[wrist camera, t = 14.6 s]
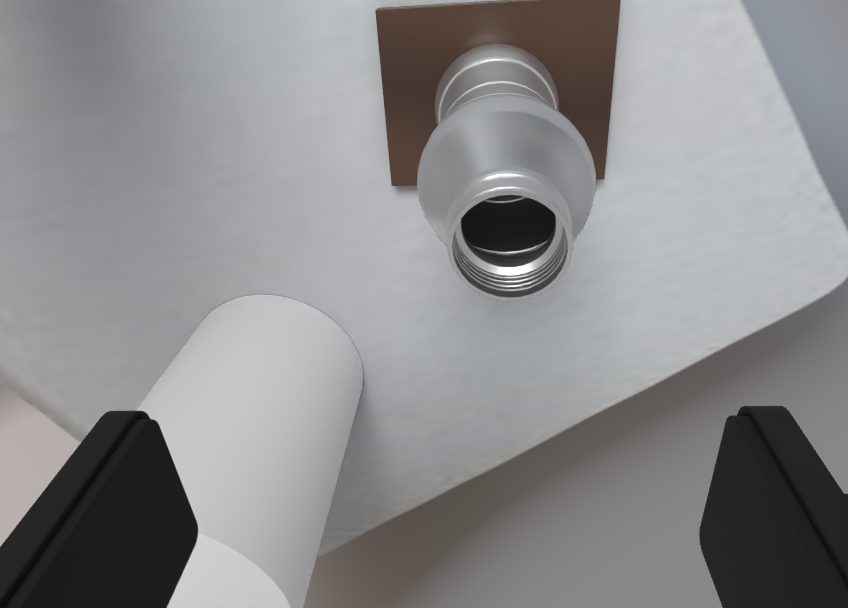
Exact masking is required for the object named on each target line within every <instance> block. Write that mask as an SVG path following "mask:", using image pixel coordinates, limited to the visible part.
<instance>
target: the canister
mask: <svg viewBox="0 0 848 608" xmlns="http://www.w3.org/2000/svg"><path fill="white" fill-rule="evenodd" d="M362 387H363V368H362V363H361V360H360V357H359V354H358V352H357V350H356V348H355V346H354V344H353V342H352V341H351V339H350V338H349V337H348V335H347V334H346V333H345V332H344V331H343V329H342V328H341V327H340V326H339V325H338V324H337V323H335V322H334V321H333V320H332V319H331V318H329V317H328V316H327V315H325V314H324V313H322V312H321V311H319V310H317V309H315V308H314V307H312V306H309V305H307V304H305V303H303V302H300V301H297V300H294V299H290V298H287V297H282V296H275V295H249V296H243V297H239V298H236V299H233V300H230V301H227V302H225V303H223V304H221V305H220V306H218V307H217V308H215V309H214V310H213V311H211V312H210V313H209V314H208V315H207V316H206V317H205V318H204V320H203V321H202V322H201V324H200V325H199V326H198V328H197V329H196V330H195V332H194V333H193V334H192V336H191V337H190V338H189V340H188V341H187V342H186V344H185V345H184V346H183V348H182V349H181V350H180V352H179V353H178V354H177V356H176V357H175V359H174V360H173V361H172V363H171V364H170V365H169V367H168V368H167V369H166V371H165V372H164V373H163V375H162V376H161V377H160V379H159V380H158V381H157V383H156V384H155V385H154V387H153V388H152V389H151V391H150V392H149V393H148V395H147V396H146V397H145V399H144V400H143V401H142V403H141V404H140V405H139V407H138V408H137V409H136V411H144V412H146V413H147V414H148V415H149V417H150V419H154V420H156V421H157V422H158V424H159V426H160V429H161V431H162V434H163V436H164V439H165V441H166V444H167V446H168V449H169V452H170V454H171V457H172V459H173V462H174V464H175V467H176V469H177V472H178V475H179V477H180V480H181V482H182V485H183V487H184V490H185V492H186V495H187V498H188V500H189V503H190V505H191V508H192V510H193V513H194V515H195V518H196V521H197V524H198V538H197V542H196V545H195V547H194V549H193V552H192V554H191V556H190V558H189V560H188V562H187V565H186V567H185V569H184V571H183V573H182V576H181V578H180V580H179V582H178V584H177V586H176V589H175V591H174V593H173V595H172V597H171V600H170V602H169V604H168V606H167V608H303V605H304V602H305V598H306V595H307V591H308V587H309V583H310V580H311V576H312V572H313V569H314V565H315V561H316V558H317V554H318V550H319V546H320V543H321V539H322V535H323V532H324V528H325V524H326V521H327V517H328V513H329V510H330V506H331V502H332V498H333V495H334V491H335V487H336V484H337V480H338V476H339V473H340V469H341V465H342V462H343V458H344V454H345V450H346V447H347V443H348V439H349V436H350V432H351V428H352V425H353V421H354V417H355V413H356V410H357V406H358V402H359V399H360V395H361V391H362Z"/></svg>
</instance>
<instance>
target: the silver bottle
mask: <svg viewBox="0 0 848 608" xmlns="http://www.w3.org/2000/svg"><path fill="white" fill-rule="evenodd" d="M435 116H436V122H437V125H438V126H437V127H436V129H435V130H434V131H433V133H432V135H431V137H430V139H429V141H428V143H427V144H426V146H425V148H424V150H423V152H422V156H421V159H420V163H419V167H418V176H417V189H418V195H419V201H420V204H421V207H422V210H423V212H424V215H425V217H426V219H427V221H428V222H429V224H430V225H431V227H432V229H433V230H434V232H435V233H436V235H437V237H438V238H439V239H440V240H441V241H442V242H443V243H444V244H445V245H446V247H447V249H448V255H449V259H450V261H451V264H452V267H453V269H454V270H455V272H456V274H457V275H458V277H459V278H460V279H461V280H462V281H463V282H464V283H465V284H466V285H467V286H468V287H470V288H471V289H472V290H474V291H475V292H477V293H479V294H481V295H483V296H485V297H488V298H492V299H495V300H502V301H521V300H525V299H530V298H533V297H535V296H538V295H540V294H542V293H544V292H545V291H547V290H549V289H550V288H552V287H553V286H554V285H555V284H556V283H557V282H558V281H559V280H560V279H561V277H562V276H563V274H564V273H565V272H566V270H567V267H568V265H569V263H570V260H571V255H572V250H573V241H574V240H575V239H576V238H577V236H578V235H579V233H580V232H581V230H582V229H583V227H584V225H585V223H586V221H587V218H588V216H589V214H590V211H591V208H592V205H593V200H594V196H595V191H596V172H595V167H594V163H593V158H592V155H591V153H590V150H589V148H588V146H587V144H586V142H585V140H584V138H583V137H582V136H581V134H580V133H579V132H578V130H577V129H576V128H575V126H574V125H573V124H572V123H571V122H570V121H569V120H568V119H567V118H566V117H565V116H564V115H562V114H561V113H560V112H559V99H558V94H557V89H556V85H555V83H554V81H553V79H552V77H551V74H550V73H549V72H548V70H547V69H546V68H545V66H544V65H543V64H542V63H541V62H540V61H539V60H538V59H537V58H536V57H535V56H533V55H532V54H530V53H528V52H527V51H525V50H523V49H521V48H518V47H515V46H512V45H505V44H488V45H483V46H479V47H476V48H473V49H471V50H469V51H467V52H466V53H464V54H462V55H461V56H459V57H458V58H457V59H456V60H455V61H454V62H453V63H451V65H450V66H449V67H448V69H447V70H446V71H445V73H444V74H443V76H442V78H441V80H440V82H439V84H438V88H437V92H436V96H435Z"/></svg>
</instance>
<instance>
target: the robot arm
mask: <svg viewBox="0 0 848 608" xmlns="http://www.w3.org/2000/svg"><path fill="white" fill-rule="evenodd" d="M197 538H198V524H197V521H196V518H195V515H194V513H193V510H192V508H191V505H190V503H189V500H188V498H187V495H186V492H185V490H184V487H183V485H182V482H181V480H180V477H179V475H178V472H177V469H176V467H175V464H174V462H173V459H172V457H171V454H170V452H169V449H168V446H167V444H166V441H165V439H164V436H163V434H162V431H161V429H160V426H159V424H158V422H157V421H156V420H154V419H150V417H149V415H148V414H147V413H146V412H144V411H109V412H107V413H105V414H104V415H103V416H102V417H101V418H100V419H99V421H98V422H97V423H96V425H95V426H94V427H93V428H92V430H91V431H90V432H89V434H88V435H87V436H86V437H85V439H84V440H83V441H82V443H81V444H80V445H79V446H78V448H77V449H76V450H75V452H74V453H73V454H72V455H71V457H70V458H69V459H68V461H67V462H66V463H65V465H64V466H63V467H62V468H61V470H60V471H59V472H58V474H57V475H56V476H55V477H54V479H53V480H52V481H51V483H50V484H49V485H48V486H47V488H46V489H45V490H44V491H43V493H42V494H41V495H40V497H39V498H38V499H37V500H36V502H35V503H34V504H33V506H32V507H31V508H30V510H29V511H28V512H27V513H26V515H25V516H24V517H23V519H22V520H21V521H20V523H19V524H18V525H17V526H16V528H15V529H14V530H13V531H12V533H11V534H10V535H9V537H8V538H7V539H6V541H5V542H4V543H3V544H2V546H1V547H0V608H167V606H168V604H169V602H170V600H171V597H172V595H173V593H174V591H175V589H176V586H177V584H178V582H179V580H180V578H181V576H182V573H183V571H184V569H185V567H186V565H187V562H188V560H189V558H190V556H191V554H192V552H193V549H194V547H195V545H196V542H197ZM700 545H701V549H702V553H703V556H704V558H705V561H706V564H707V566H708V569H709V572H710V574H711V577H712V580H713V582H714V585H715V588H716V591H717V593H718V596H719V599H720V601H721V604H722V607H723V608H848V494H844V493H843V492H842V490H841V489H840V487H839V486H838V484H837V483H836V481H835V480H834V478H833V477H832V475H831V474H830V472H829V471H828V469H827V468H826V466H825V465H824V463H823V462H822V460H821V459H820V457H819V456H818V454H817V453H816V451H815V450H814V448H813V447H812V445H811V444H810V442H809V441H808V439H807V438H806V436H805V435H804V433H803V432H802V430H801V429H800V427H799V426H798V424H797V423H796V421H795V420H794V418H793V416H792V415H791V414H790V412H789V411H788V410H787V409H786V408H785V407H783V406H744V407H742V408H740V410H739V411H738V414H737V416H729V417H728V418H727V420H726V424H725V427H724V432H723V436H722V440H721V444H720V448H719V452H718V456H717V461H716V464H715V469H714V473H713V477H712V481H711V485H710V489H709V493H708V497H707V501H706V506H705V509H704V514H703V518H702V522H701V526H700Z"/></svg>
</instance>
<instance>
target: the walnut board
mask: <svg viewBox="0 0 848 608" xmlns="http://www.w3.org/2000/svg"><path fill="white" fill-rule="evenodd" d="M619 11H620V0H499V1H483V2H467V3H451V4H435V5H419V6H403V7H387V8H378V9H376V21H377V31H378V42H379V53H380V64H381V75H382V85H383V96H384V107H385V118H386V129H387V139H388V150H389V161H390V172H391V182H392V186H401V185H417V176H418V167H419V163H420V159H421V156H422V152H423V150H424V148H425V146H426V144H427V143H428V141H429V139H430V137H431V135H432V133H433V131H434V130H435V129H436V127H437V126H438V125H437V122H436V116H435V96H436V92H437V88H438V84H439V82H440V80H441V78H442V76H443V74H444V73H445V71H446V70H447V69H448V67H449V66H450V65H451V63H453V62H454V61H455V60H456V59H457V58H458V57H459V56H461V55H462V54H464V53H466V52H467V51H469V50H471V49H473V48H476V47H479V46H483V45H488V44H505V45H512V46H515V47H518V48H521V49H523V50H525V51H527V52H528V53H530V54H532V55H533V56H535V57H536V58H537V59H538V60H539V61H540V62H541V63H542V64H543V65H544V66H545V68H546V69H547V70H548V72H549V73H550V74H551V77H552V79H553V81H554V83H555V85H556V89H557V94H558V99H559V112H560V113H561V114H562V115H564V116H565V117H566V118H567V119H568V120H569V121H570V122H571V123H572V124H573V125H574V126H575V128H576V129H577V130H578V132H579V133H580V134H581V136H582V137H583V138H584V140H585V142H586V144H587V146H588V148H589V150H590V153H591V155H592V158H593V163H594V167H595V172H596V179H604V175H605V164H606V153H607V142H608V131H609V120H610V109H611V98H612V87H613V76H614V65H615V54H616V43H617V32H618V21H619Z"/></svg>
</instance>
